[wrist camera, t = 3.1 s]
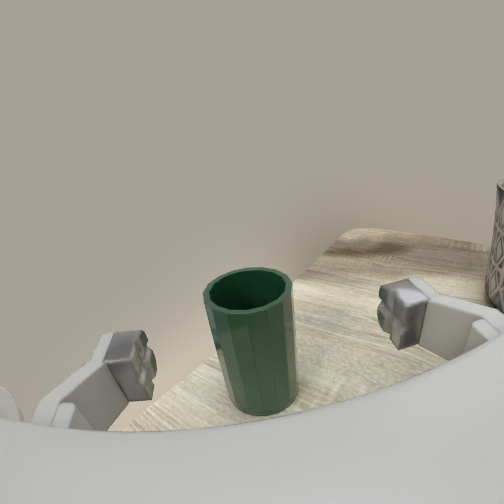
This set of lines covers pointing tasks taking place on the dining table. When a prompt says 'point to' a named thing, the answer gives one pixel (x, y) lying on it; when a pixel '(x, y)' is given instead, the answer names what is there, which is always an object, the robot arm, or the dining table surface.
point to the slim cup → (255, 337)
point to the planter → (497, 254)
